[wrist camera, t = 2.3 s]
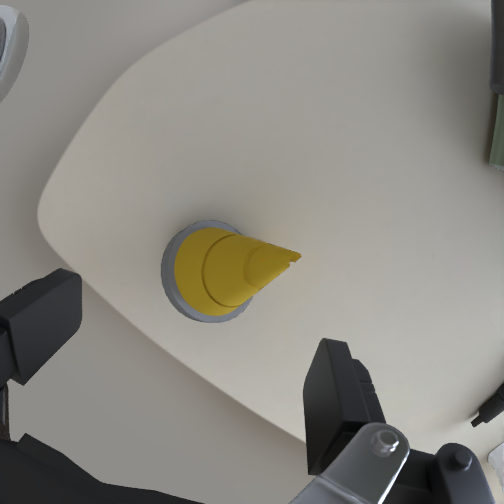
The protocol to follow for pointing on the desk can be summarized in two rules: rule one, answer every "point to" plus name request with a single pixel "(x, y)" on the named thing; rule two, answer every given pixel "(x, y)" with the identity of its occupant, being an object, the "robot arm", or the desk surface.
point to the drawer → (497, 82)
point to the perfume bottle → (498, 462)
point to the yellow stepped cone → (218, 270)
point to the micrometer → (491, 408)
